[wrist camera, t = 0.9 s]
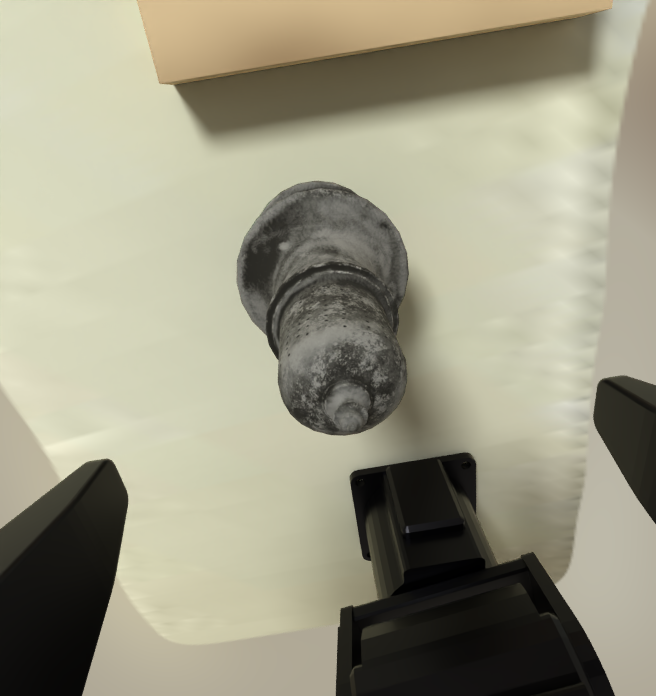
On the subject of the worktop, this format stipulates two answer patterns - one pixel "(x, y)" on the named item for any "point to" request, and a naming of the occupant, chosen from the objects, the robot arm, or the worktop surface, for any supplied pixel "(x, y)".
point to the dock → (320, 29)
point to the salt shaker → (328, 304)
